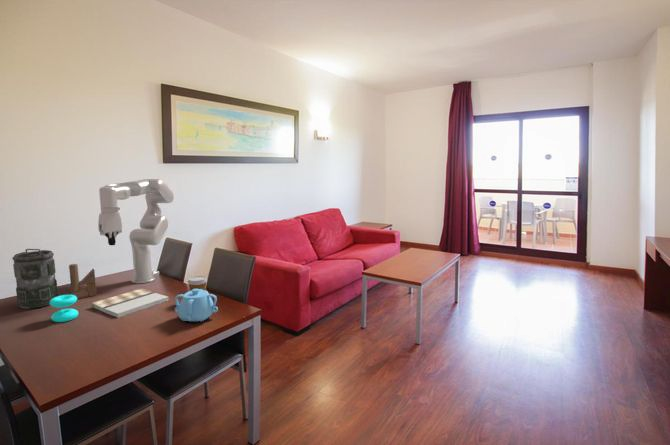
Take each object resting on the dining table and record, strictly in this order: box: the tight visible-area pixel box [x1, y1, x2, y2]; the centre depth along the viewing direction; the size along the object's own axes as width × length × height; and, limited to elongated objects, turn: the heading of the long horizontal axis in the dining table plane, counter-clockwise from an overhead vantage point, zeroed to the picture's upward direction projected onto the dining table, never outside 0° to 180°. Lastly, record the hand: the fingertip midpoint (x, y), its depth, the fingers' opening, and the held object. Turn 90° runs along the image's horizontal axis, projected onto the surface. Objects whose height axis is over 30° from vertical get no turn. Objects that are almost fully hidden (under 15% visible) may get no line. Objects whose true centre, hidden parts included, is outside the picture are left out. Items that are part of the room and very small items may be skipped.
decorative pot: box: [174, 289, 219, 323], centre depth 170 cm, size 16×16×14 cm
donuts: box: [49, 294, 79, 323], centre depth 167 cm, size 10×10×10 cm
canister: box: [11, 248, 59, 310], centre depth 183 cm, size 16×16×28 cm
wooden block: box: [68, 263, 97, 300], centre depth 194 cm, size 4×11×18 cm, turn 130°
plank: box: [91, 287, 153, 313], centre depth 189 cm, size 26×10×2 cm, turn 149°
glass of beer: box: [187, 275, 208, 291], centre depth 191 cm, size 10×10×12 cm
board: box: [103, 291, 170, 318], centre depth 184 cm, size 26×12×2 cm, turn 149°
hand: (112, 244), depth 196 cm, fingers closed
